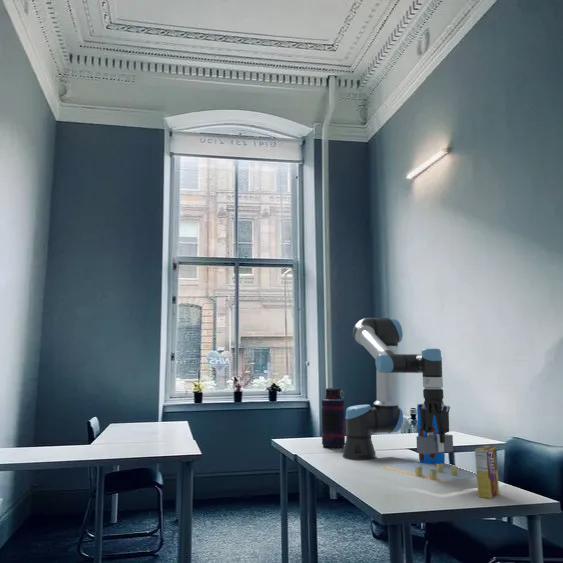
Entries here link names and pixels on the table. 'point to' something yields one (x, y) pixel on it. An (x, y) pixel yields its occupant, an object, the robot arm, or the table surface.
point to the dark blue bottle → (333, 419)
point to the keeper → (434, 473)
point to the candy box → (486, 471)
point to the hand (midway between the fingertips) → (435, 450)
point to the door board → (428, 471)
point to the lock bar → (433, 444)
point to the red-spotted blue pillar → (425, 458)
